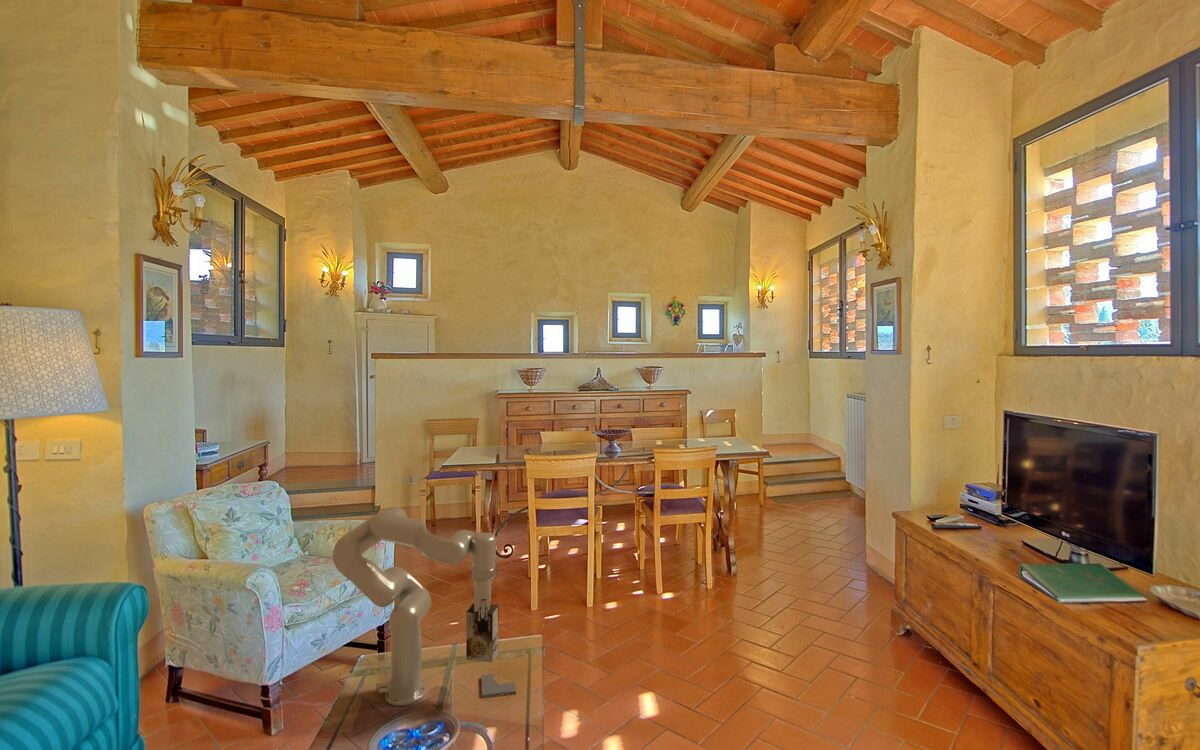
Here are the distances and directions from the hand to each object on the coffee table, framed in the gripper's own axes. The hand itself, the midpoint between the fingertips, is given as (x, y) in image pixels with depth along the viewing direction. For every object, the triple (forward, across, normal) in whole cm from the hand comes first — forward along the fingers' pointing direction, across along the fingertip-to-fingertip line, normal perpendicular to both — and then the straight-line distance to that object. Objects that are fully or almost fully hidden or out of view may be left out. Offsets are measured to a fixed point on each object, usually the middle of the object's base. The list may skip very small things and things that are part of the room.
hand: (482, 624), depth 177 cm
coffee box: (+11, 0, 0) cm, 11 cm away
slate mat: (+25, -7, +5) cm, 27 cm away
